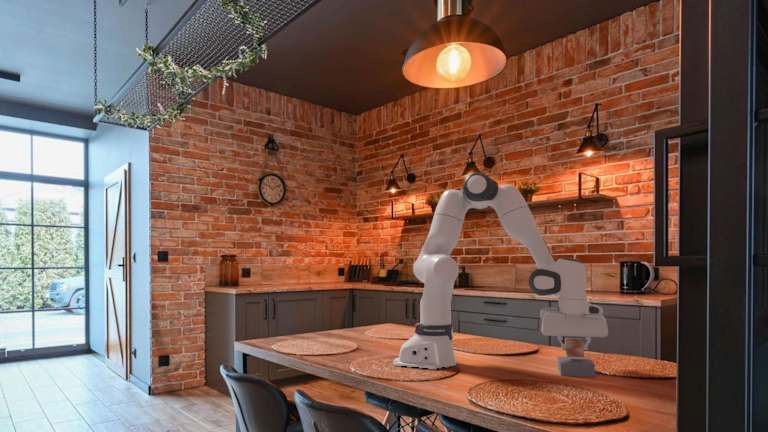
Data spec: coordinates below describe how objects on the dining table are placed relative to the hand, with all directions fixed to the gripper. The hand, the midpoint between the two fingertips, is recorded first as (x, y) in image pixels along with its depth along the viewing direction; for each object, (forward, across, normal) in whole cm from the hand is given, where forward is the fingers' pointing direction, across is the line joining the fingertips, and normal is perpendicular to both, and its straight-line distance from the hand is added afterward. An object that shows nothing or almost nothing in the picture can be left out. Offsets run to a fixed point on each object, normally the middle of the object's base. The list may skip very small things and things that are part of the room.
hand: (574, 350), depth 159 cm
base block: (+7, 0, 0) cm, 7 cm away
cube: (+2, 0, 0) cm, 2 cm away
